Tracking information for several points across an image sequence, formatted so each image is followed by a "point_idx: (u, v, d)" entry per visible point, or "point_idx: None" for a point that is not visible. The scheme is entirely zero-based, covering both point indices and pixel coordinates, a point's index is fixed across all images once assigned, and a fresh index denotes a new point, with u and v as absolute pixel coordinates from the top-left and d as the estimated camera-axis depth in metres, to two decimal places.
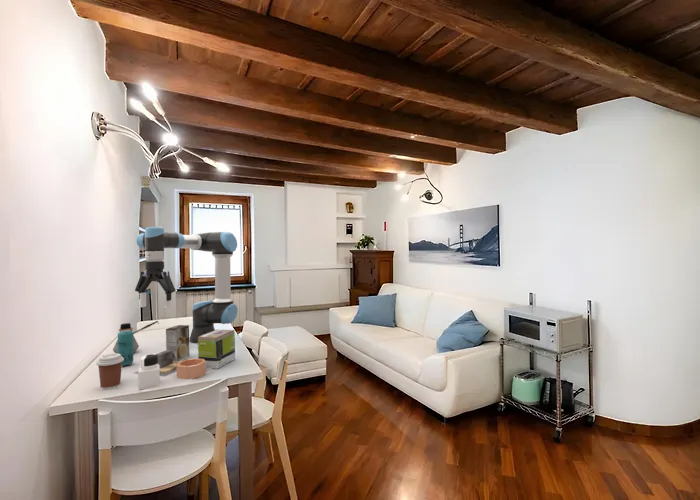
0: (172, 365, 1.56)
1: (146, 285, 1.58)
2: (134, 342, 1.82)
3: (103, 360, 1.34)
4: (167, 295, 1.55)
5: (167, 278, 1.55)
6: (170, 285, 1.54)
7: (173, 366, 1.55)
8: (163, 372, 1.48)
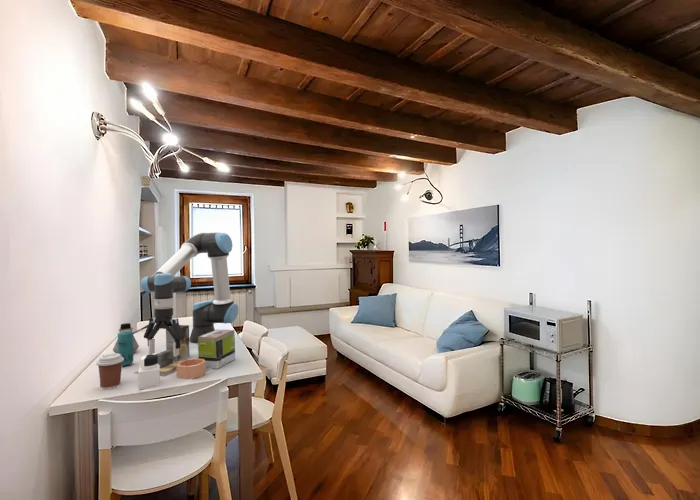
0: (172, 365, 1.56)
1: (155, 332, 1.57)
2: (134, 342, 1.82)
3: (103, 360, 1.34)
4: (176, 343, 1.53)
5: (176, 326, 1.54)
6: (179, 333, 1.53)
7: (173, 366, 1.55)
8: (163, 372, 1.48)
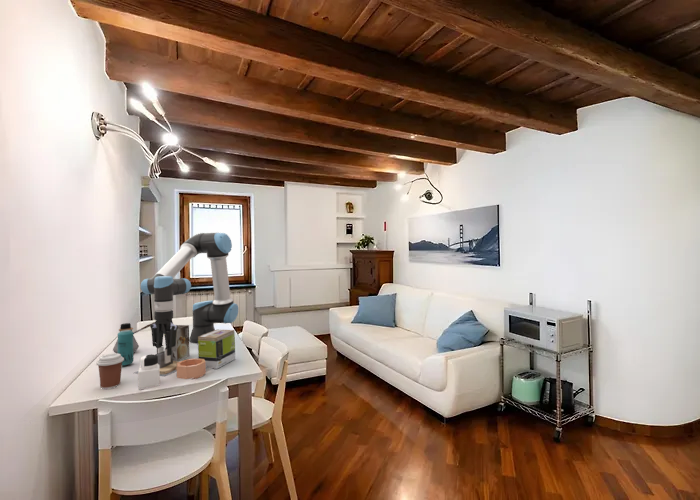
0: (172, 365, 1.56)
1: (160, 337, 1.56)
2: (134, 342, 1.82)
3: (103, 360, 1.34)
4: (167, 350, 1.55)
5: (173, 333, 1.54)
6: (173, 340, 1.54)
7: (173, 366, 1.55)
8: (163, 372, 1.48)
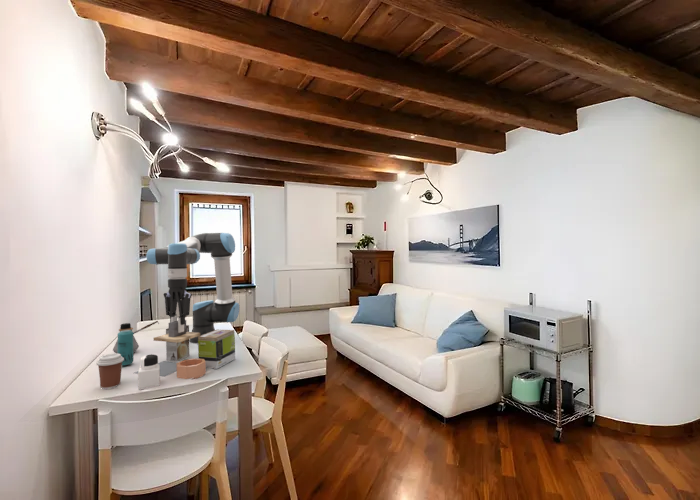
0: (185, 335, 1.52)
1: (174, 306, 1.52)
2: (134, 342, 1.82)
3: (103, 360, 1.34)
4: (181, 319, 1.50)
5: (187, 301, 1.50)
6: (186, 309, 1.50)
7: (187, 335, 1.50)
8: (176, 340, 1.44)
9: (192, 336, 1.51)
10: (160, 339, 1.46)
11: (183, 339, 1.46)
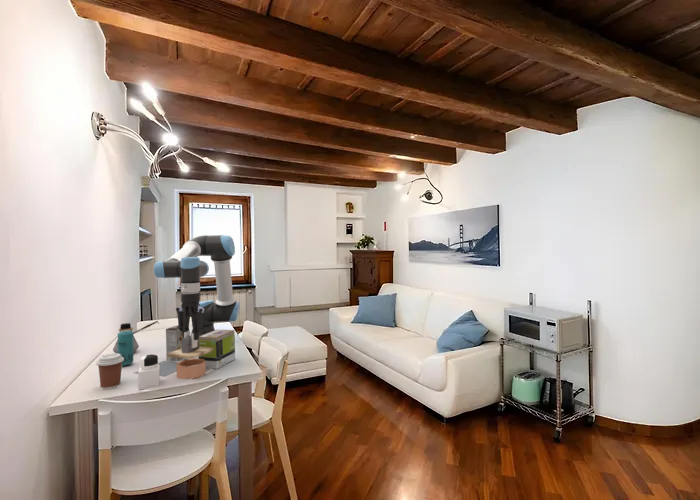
0: (199, 350, 1.49)
1: (187, 321, 1.49)
2: (134, 342, 1.82)
3: (103, 360, 1.34)
4: (194, 334, 1.47)
5: (201, 316, 1.47)
6: (200, 324, 1.47)
7: (200, 351, 1.47)
8: (191, 357, 1.41)
9: (206, 351, 1.48)
10: (174, 355, 1.43)
11: (197, 355, 1.43)
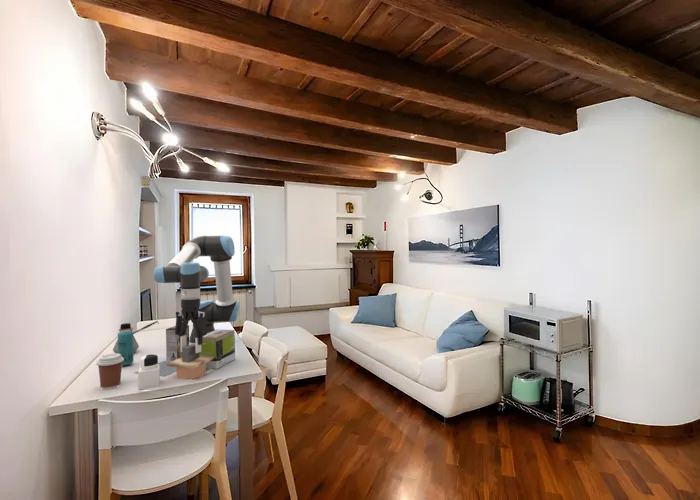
0: (199, 359, 1.49)
1: (185, 326, 1.49)
2: (134, 342, 1.82)
3: (103, 360, 1.34)
4: (198, 339, 1.47)
5: (202, 320, 1.47)
6: (203, 329, 1.47)
7: (201, 360, 1.48)
8: (192, 366, 1.41)
9: (206, 360, 1.49)
10: (174, 365, 1.43)
11: (198, 364, 1.44)
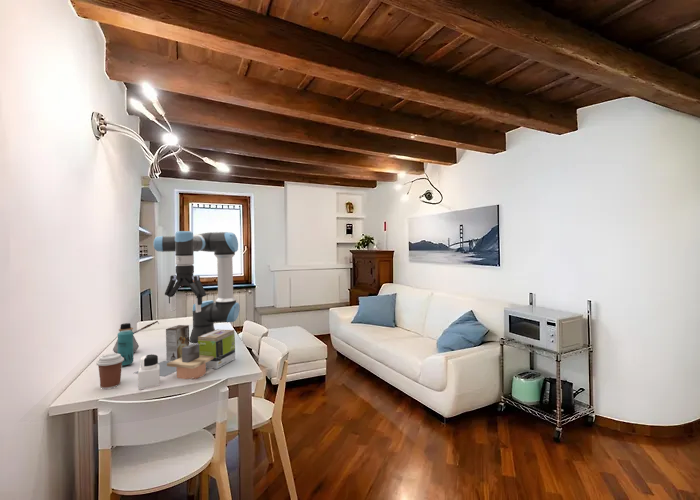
0: (199, 359, 1.49)
1: (176, 289, 1.59)
2: (134, 342, 1.82)
3: (103, 360, 1.34)
4: (198, 299, 1.55)
5: (198, 282, 1.55)
6: (201, 289, 1.55)
7: (201, 360, 1.48)
8: (192, 366, 1.41)
9: (206, 360, 1.49)
10: (174, 365, 1.43)
11: (198, 364, 1.44)
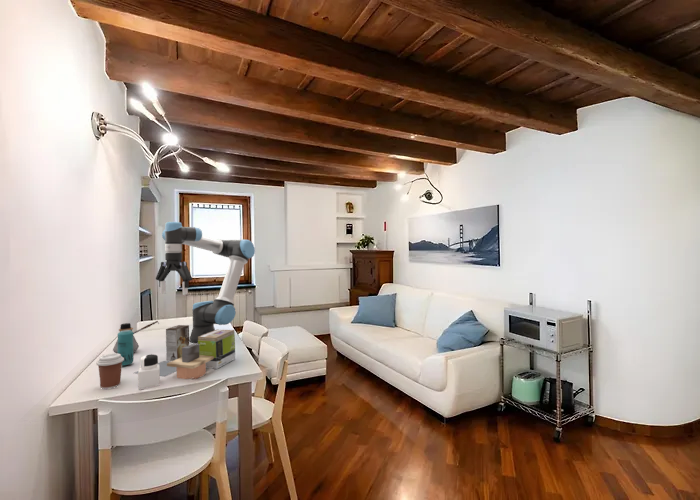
0: (199, 359, 1.49)
1: (166, 274, 1.76)
2: (134, 342, 1.82)
3: (103, 360, 1.34)
4: (185, 283, 1.73)
5: (185, 268, 1.73)
6: (188, 274, 1.72)
7: (201, 360, 1.48)
8: (192, 366, 1.41)
9: (206, 360, 1.49)
10: (174, 365, 1.43)
11: (198, 364, 1.44)
